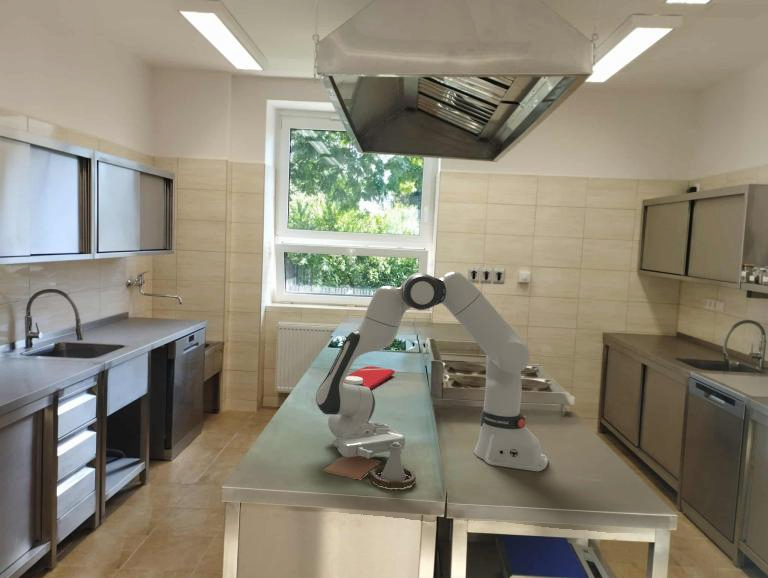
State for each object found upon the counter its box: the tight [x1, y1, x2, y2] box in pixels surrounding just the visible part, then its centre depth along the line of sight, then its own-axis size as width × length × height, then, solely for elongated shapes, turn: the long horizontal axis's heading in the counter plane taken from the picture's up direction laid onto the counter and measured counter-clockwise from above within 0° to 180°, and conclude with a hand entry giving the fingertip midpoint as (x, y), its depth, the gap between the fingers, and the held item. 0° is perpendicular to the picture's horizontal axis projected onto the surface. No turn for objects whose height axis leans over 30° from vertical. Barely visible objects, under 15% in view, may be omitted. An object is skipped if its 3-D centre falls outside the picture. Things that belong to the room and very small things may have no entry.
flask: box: [379, 443, 407, 481], centre depth 168 cm, size 7×7×10 cm
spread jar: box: [344, 375, 365, 387], centre depth 228 cm, size 12×11×12 cm
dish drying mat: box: [343, 365, 395, 390], centre depth 270 cm, size 16×41×4 cm, turn 159°
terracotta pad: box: [323, 455, 381, 481], centre depth 175 cm, size 11×14×1 cm
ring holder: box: [370, 464, 417, 488], centre depth 168 cm, size 12×12×2 cm
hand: (385, 453), depth 172 cm, fingers open, 8 cm apart
